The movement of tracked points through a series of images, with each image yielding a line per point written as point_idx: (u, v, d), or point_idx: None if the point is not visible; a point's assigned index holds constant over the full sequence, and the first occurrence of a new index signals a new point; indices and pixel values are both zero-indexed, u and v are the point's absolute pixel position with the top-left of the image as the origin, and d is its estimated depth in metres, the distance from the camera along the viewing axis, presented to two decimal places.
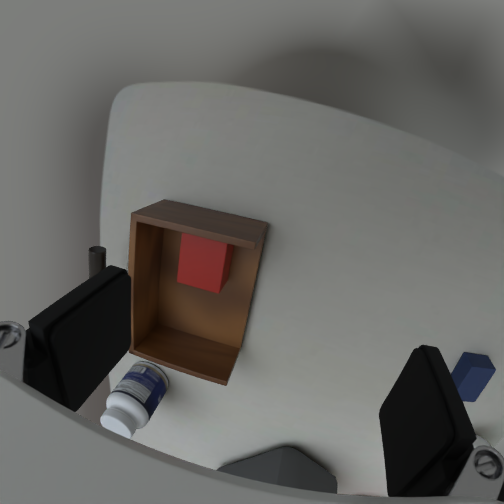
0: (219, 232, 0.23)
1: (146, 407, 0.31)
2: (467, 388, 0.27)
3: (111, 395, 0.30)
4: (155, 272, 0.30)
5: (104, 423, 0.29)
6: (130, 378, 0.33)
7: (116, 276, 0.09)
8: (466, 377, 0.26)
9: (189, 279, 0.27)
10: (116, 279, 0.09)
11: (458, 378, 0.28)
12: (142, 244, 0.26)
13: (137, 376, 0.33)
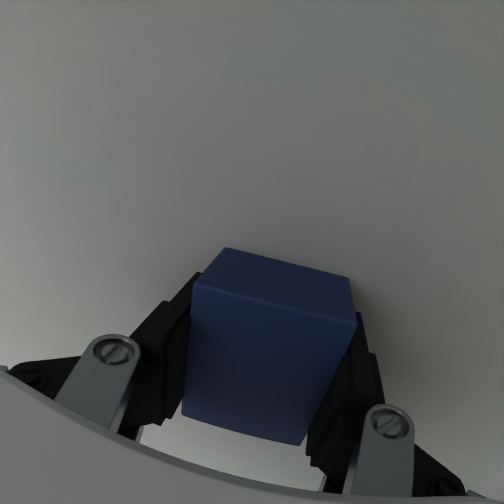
0: None
1: None
2: (229, 389, 0.08)
3: None
4: None
5: None
6: None
7: None
8: (194, 333, 0.08)
9: None
10: None
11: None
12: None
13: None
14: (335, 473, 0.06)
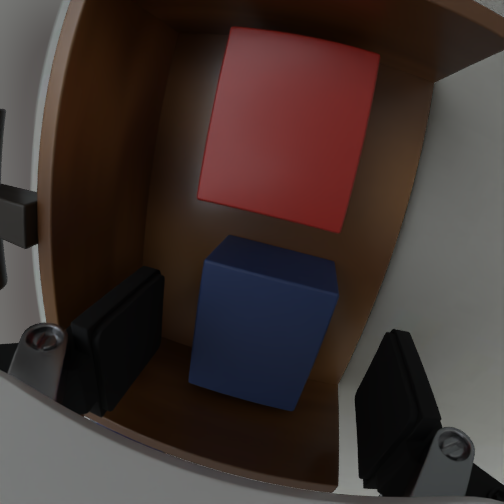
0: None
1: None
2: (231, 355, 0.10)
3: None
4: (134, 192, 0.11)
5: None
6: None
7: (150, 276, 0.09)
8: (203, 304, 0.10)
9: (240, 184, 0.08)
10: (151, 279, 0.09)
11: None
12: (97, 66, 0.06)
13: None
14: (393, 489, 0.05)
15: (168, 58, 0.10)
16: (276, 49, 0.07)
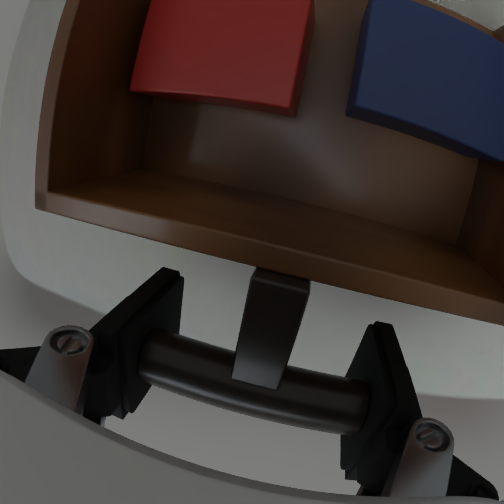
0: None
1: None
2: (462, 96, 0.07)
3: None
4: (294, 206, 0.10)
5: None
6: None
7: (170, 277, 0.10)
8: (405, 114, 0.07)
9: (274, 65, 0.08)
10: (172, 280, 0.09)
11: (426, 134, 0.08)
12: (135, 196, 0.08)
13: None
14: (373, 482, 0.06)
15: (164, 173, 0.12)
16: (152, 50, 0.08)
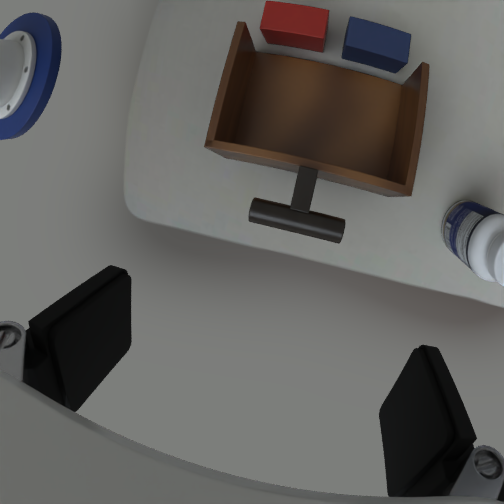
0: (229, 52, 0.19)
1: (489, 213, 0.19)
2: None
3: (472, 265, 0.20)
4: None
5: None
6: (455, 240, 0.23)
7: (116, 276, 0.09)
8: (367, 21, 0.18)
9: None
10: (116, 279, 0.09)
11: (379, 34, 0.18)
12: None
13: (453, 230, 0.23)
14: None
15: None
16: None
